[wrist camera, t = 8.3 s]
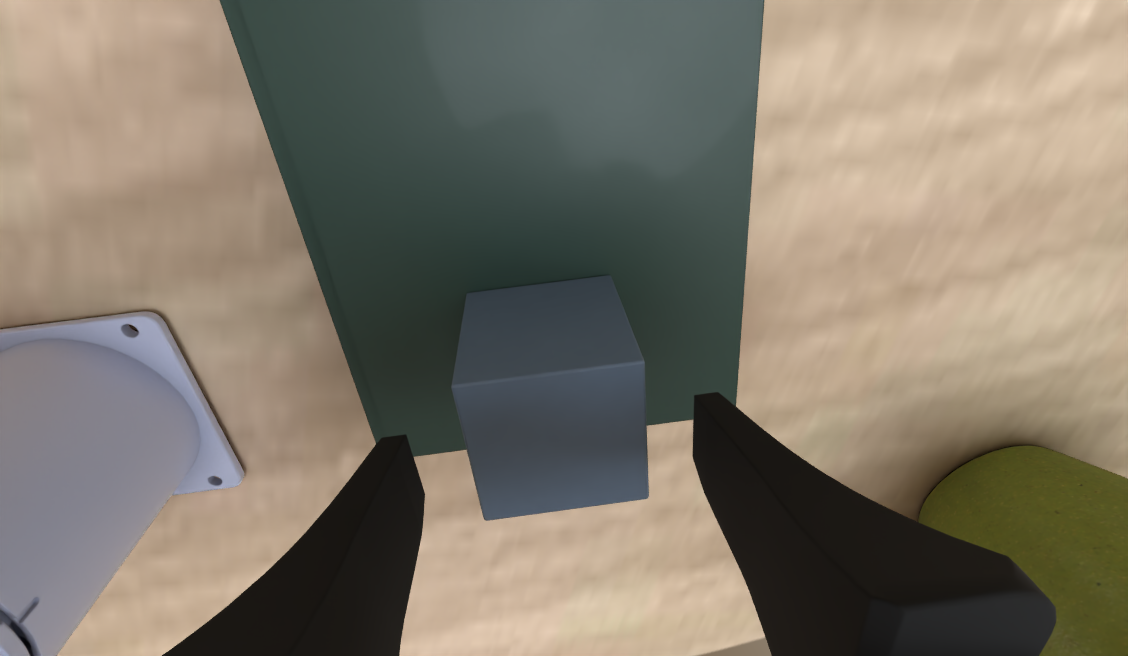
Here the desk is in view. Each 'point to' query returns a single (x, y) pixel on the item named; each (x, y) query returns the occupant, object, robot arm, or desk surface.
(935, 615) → the robot arm
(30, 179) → the desk surface
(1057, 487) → the flower pot
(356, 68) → the book
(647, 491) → the slate block
